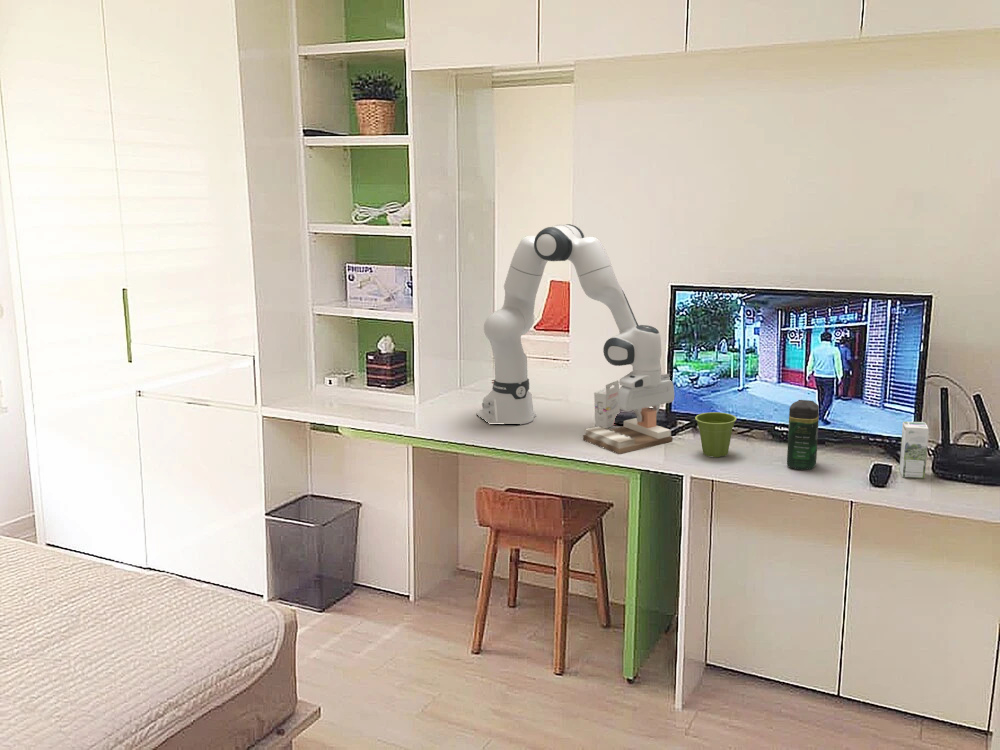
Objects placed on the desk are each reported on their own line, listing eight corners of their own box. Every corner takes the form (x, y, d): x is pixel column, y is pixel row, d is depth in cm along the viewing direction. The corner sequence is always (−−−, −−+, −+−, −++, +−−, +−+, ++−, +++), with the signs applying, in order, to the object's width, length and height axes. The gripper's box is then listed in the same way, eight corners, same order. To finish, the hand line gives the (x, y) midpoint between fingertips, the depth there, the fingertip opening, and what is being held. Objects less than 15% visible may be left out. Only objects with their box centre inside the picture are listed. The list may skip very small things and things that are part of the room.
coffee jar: (814, 472, 259) (817, 407, 255) (784, 469, 263) (787, 405, 258) (818, 461, 268) (821, 398, 264) (789, 459, 271) (791, 396, 267)
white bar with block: (623, 426, 303) (623, 405, 301) (635, 424, 305) (635, 403, 304) (658, 439, 289) (658, 417, 287) (670, 436, 291) (671, 414, 289)
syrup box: (921, 472, 257) (925, 421, 253) (925, 479, 251) (929, 427, 248) (899, 471, 258) (902, 420, 255) (902, 478, 253) (905, 426, 249)
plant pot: (691, 448, 284) (692, 412, 281) (731, 447, 283) (732, 411, 280) (697, 460, 272) (698, 423, 270) (739, 460, 272) (740, 422, 269)
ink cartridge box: (607, 420, 316) (607, 378, 313) (620, 422, 313) (620, 379, 310) (594, 426, 310) (593, 383, 306) (607, 428, 307) (606, 385, 303)
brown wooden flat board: (583, 439, 296) (583, 429, 295) (635, 428, 306) (635, 417, 305) (619, 454, 281) (618, 442, 280) (672, 441, 291) (672, 430, 290)
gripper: (665, 370, 301) (665, 412, 304) (615, 380, 290) (615, 423, 294) (679, 374, 295) (678, 416, 299) (628, 384, 285) (628, 427, 288)
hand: (646, 420), depth 296 cm, fingers open, 4 cm apart
